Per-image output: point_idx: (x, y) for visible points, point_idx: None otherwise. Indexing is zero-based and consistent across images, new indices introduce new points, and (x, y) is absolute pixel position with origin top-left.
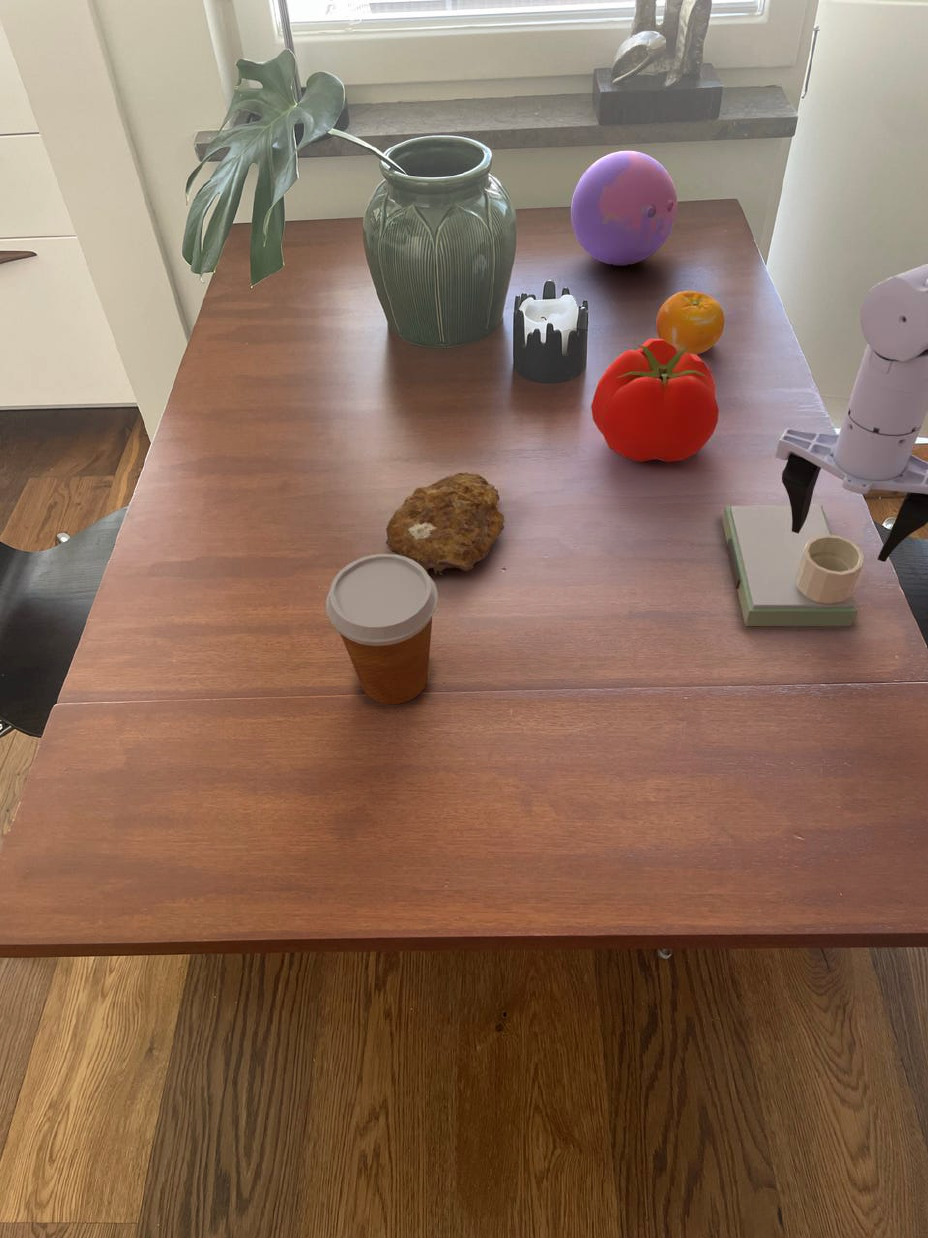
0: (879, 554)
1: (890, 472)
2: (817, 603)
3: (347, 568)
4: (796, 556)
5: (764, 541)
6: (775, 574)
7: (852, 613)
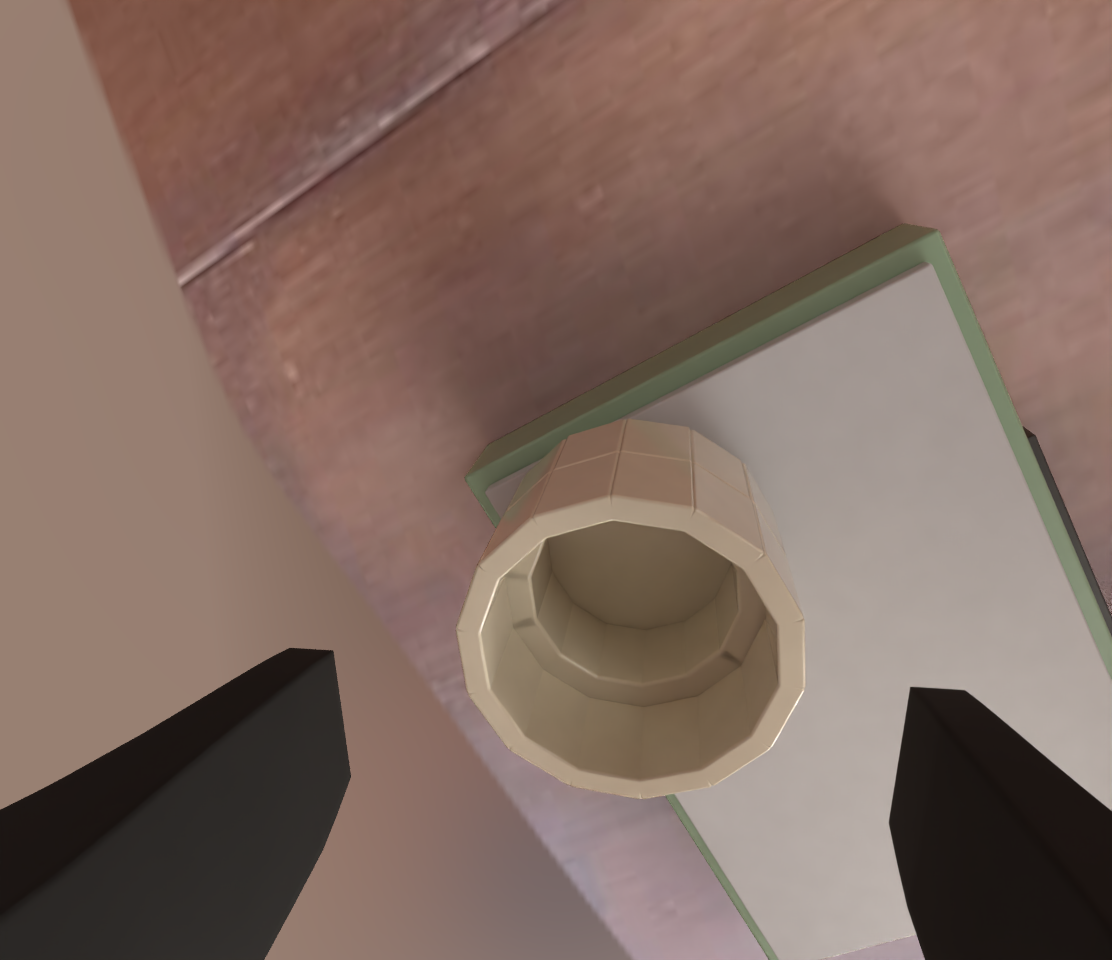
0: (300, 671)
1: None
2: None
3: None
4: None
5: None
6: (870, 525)
7: (481, 464)
